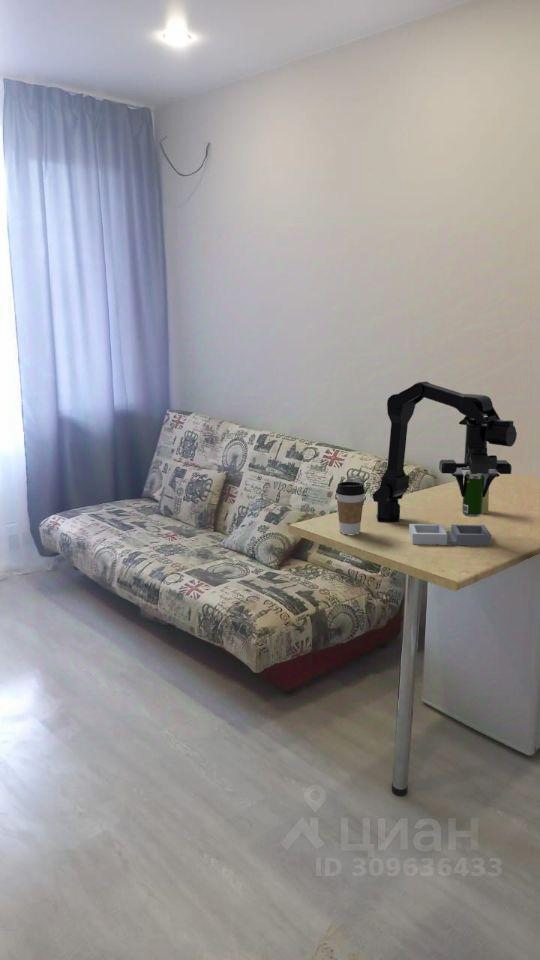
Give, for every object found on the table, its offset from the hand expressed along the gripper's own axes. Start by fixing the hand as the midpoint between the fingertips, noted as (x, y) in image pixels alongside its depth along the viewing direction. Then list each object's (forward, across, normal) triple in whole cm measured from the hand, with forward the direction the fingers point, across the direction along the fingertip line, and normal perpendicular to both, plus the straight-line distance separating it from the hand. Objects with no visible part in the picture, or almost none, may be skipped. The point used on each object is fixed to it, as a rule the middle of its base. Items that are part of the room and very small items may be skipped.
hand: (472, 496), depth 196 cm
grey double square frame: (+13, -6, 0) cm, 14 cm away
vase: (+13, +8, +29) cm, 33 cm away
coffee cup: (+13, -34, +5) cm, 37 cm away
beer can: (+5, 0, 0) cm, 5 cm away
